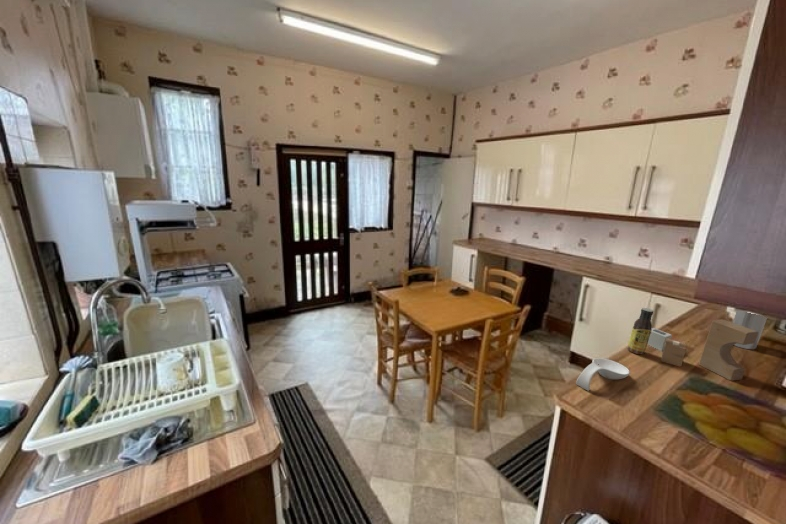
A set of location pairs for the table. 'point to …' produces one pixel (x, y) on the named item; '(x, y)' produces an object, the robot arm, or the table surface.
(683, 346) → the walnut marked block
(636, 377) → the table surface
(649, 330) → the sauce bottle
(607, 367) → the spoon rest
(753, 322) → the robot arm
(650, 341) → the grey marked block
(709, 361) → the decorative block
